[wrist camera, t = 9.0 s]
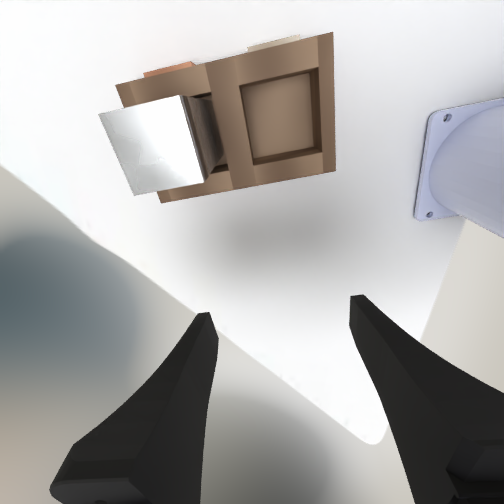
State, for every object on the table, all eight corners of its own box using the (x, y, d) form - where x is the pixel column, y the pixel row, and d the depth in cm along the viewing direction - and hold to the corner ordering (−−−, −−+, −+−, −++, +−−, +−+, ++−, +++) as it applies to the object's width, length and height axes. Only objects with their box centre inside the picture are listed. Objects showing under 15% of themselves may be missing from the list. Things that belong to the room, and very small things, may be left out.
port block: (319, 38, 15) (333, 23, 12) (324, 162, 19) (335, 171, 16) (135, 83, 16) (112, 78, 14) (173, 190, 20) (161, 203, 17)
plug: (211, 99, 16) (179, 94, 10) (224, 154, 18) (204, 182, 11) (162, 111, 17) (97, 113, 10) (179, 162, 18) (133, 195, 12)
